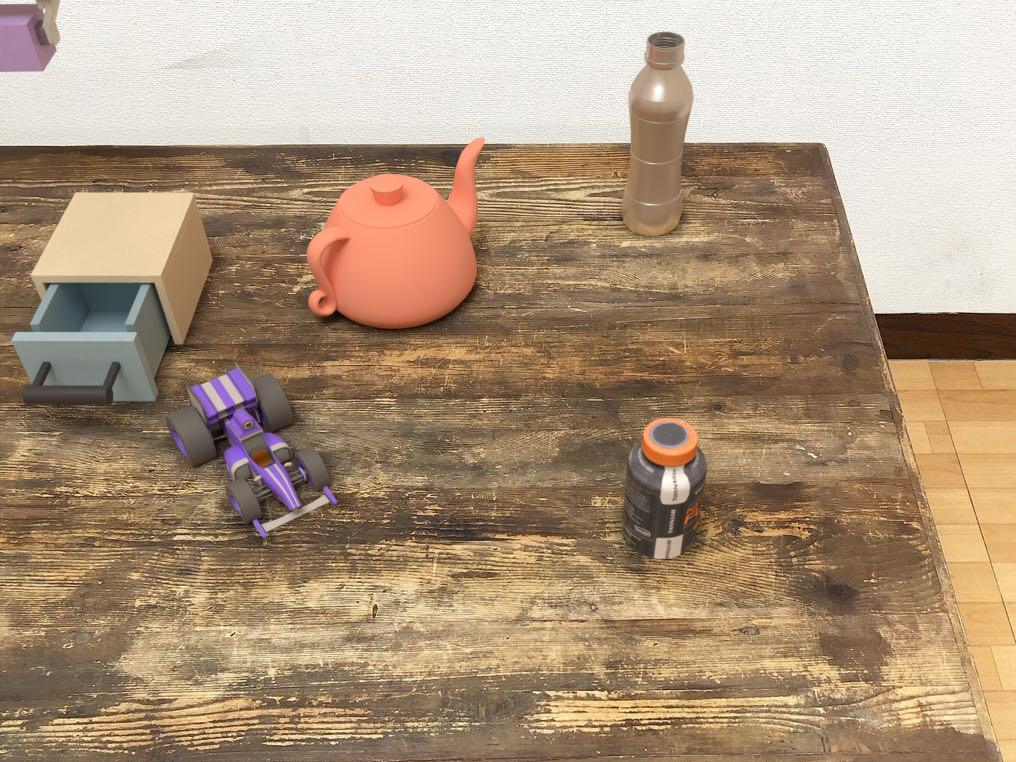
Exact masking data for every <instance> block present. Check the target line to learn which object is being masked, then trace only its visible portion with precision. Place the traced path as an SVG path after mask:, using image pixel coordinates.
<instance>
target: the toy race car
mask: <svg viewBox="0 0 1016 762" xmlns="http://www.w3.org/2000/svg"><path fill="white" fill-rule="evenodd" d="M234 365H235V368H234V369H232V370H229V371H227V372H226V373H225V374H223V375H220V376H218V377H216V378H213V379H211V380H209V381H205V382H204V383H201V384H199V383H198V384H194V385H193V386H190V385H189V384H188V383H187V381H186V380H184V381H183V383H182V384H183V385H184V389H185V391H186V395H187V397H188V401H189V403H190V404H189V405H187V406H185V407H182V408H180V409H177V410H176V411H173V412H170V413H168V414H166V415H165V422H166V426H167V429H168V432H169V434H170V436H171V439H172V441H173V443H174V445H175V447H176V448H177V449H178V450H179V452H181V453H182V454H183V456H184V457H185V460H186V462H187V464H188V465H189V466H190V467H191V468H195V467H197V466H199V465H201V464H204V463H206V462H208V461H211V460H213V459H215V458H217V456H218V453H217V448H216V444H215V441H217V440H220V439H221V440H222V439H224V438H225V439H227V441H228V442H229V444H230V447H228V448H227V449H226V450H225V452H224V453H223V454H224V457H223V458H224V461H225V465H226V468H227V471H228V474H229V476H230V478H231V480H232V481H230V482H227V483H225V485H224V487H225V488H224V489H225V493H226V496H227V499H228V501H229V503H230V505H231V507H233V509H234V510H235V511H236V512H239V516H240V517H241V520H242V522H243V524H244V525H246V526H247V525H250V524H252V525H253V526H254V528H255V529H256V531H258V533H259V535H260V536H261V537H262V538H263V539H266V538H268V534H267V533H268V532H269V531H272V530H274V529H276V528H278V527H280V526H283V525H285V524H286V523H289V522H291V521H293V520H295V519H297V518H299V517H301V516H303V515H305V514H307V513H310V512H311V511H314V510H316V509H318V508H320V507H322V506H324V505H326V504H329V503H332V504H333V505H337V504H339V503H338V500H337V499H336V497H335V496H334V494H333V493H332V492H331V490H330V489H329V487H331V477H330V474H329V471H328V468H327V466H326V464H325V462H324V460H323V458H322V457H321V455H320V453H319V452H318V451H317V450H316V449H315V448H314V447H313V446H307V447H304V448H302V449H301V450H298V451H296V452H295V453H294V454H293V455H292V450H291V447H290V446H289V444H288V443H287V441H285V440H284V439H283V437H281V436H279V435H277V434H275V433H274V432H277V431H279V430H282V429H284V428H286V427H288V426H290V425H292V424H293V423H294V415H293V410H292V407H291V404H290V401H289V399H288V397H287V395H286V392H285V391H284V388H283V387H282V385H281V383H280V382H279V381H278V380H277V378H276V377H275V376H274V375H273V374H271V373H270V372H267V373H264V374H261V375H259V376H257V377H254V378H251V376H250V375H249V374H248V373H247V371H246V370H245V369H244V368H243V366H242V365H241V364H240V363H239V361H237V360H234ZM260 423H261V424H262V426H263V428H264V429H265V431H266V432H264V430H263V428H262V426H261V425H260ZM217 431H222V432H223V435H220V436H216V437H213V434H212V433H215V432H217ZM293 459H294V464H295V467H296V471H293V472H290V473H288V471H287V469H288V468H289V467H291V466H293V463H292V462H288V461H292V460H293ZM283 463H284V464H283ZM249 478H250V479H252V478H253V482H254V483H257V484H258V486H259V487H258V488H256V489H255V490H253V489H252V487H251V485H250V484H249V483H248V481H247V479H249ZM293 481H295V482H293ZM302 481H304V482H306V481H307V482H308V486H309V487H310V489H311V491H312V492H314V493H318V492H319V491H320V492H321V491H322V492H323V495H321V496H320V497H318V498H317V499H315V500H313V501H312V502H309V503H308V504H307V505H304V506H303V505H302V502H301V500H300V498H299V496H298V494H297V491H296V489H295V487H294V485H295V486H296V484H298V483H300V482H302ZM262 489H264V490H262ZM260 490H261V491H260ZM267 493H268V494H267ZM266 494H267V495H266ZM269 497H272V498H274V499H275V500H276V501H277V502H278V503H283V504H284V505H285V507H286V508H287V509H288V510H289V511H290V513H287V514H285V515H283V516H281V517H278V518H276V519H274V520H271V521H268V522H265V523H262V524H261V523H260V522H259V520H261V519H262V518H263V511H262V507H261V504H260V502H259V501H261V500H264V499H266V498H269Z"/></svg>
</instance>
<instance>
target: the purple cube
mask: <svg viewBox="0 0 1016 762" xmlns="http://www.w3.org/2000/svg"><path fill="white" fill-rule="evenodd" d="M44 14H45V11H44V9H39V8H38V6H37V3H1V4H0V73H12V72H14V73H15V72H16V73H17V72H19V73H21V72H22V73H23V72H24V73H25V72H26V73H27V72H44V71H45V70H46V68H47V67H48V65H49V64H50V62H51V60H52V59H53V57H54V56H55V54H56V53H57V51H58V49H57V45H40V43H39V40H38V38H39V37H38V36H37V35H36V32H35V29H34V28H35V26H36V25H37V24H38V22H39V20H44Z"/></svg>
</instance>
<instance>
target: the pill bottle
mask: <svg viewBox="0 0 1016 762" xmlns="http://www.w3.org/2000/svg"><path fill="white" fill-rule="evenodd" d="M698 444H699V435H698V431H696V429H695V427H694V426H693V425H692V424H690V423H689V422H687V421H685V420H684V419H680V418H675V417H661V418H658V419H655V420H653V421H651V422H650V423H648V424H647V426H646V427H645V428H644V430H643V434H642V439H641V440H640V441H638V442H637V443H636V444H634V446H633V447H632V448H631V450H630V452H629V455H628V458H627V464H626V475H625V485H624V496H623V509H622V519H621V520H622V521H621V535H622V537H623V540H624V542H625V543H626V545H627V546H628V547H629V548H630V549H631V550H633V552H636V553H637V554H638V555H641V556H643V557H647V558H649V559H654V560H655V559H656V560H666V559H667V560H668V559H673V558H676V557H678V556H680V555H683V554H685V553H686V552H687V551H689V550H690V549H691V548H692V546H693V545H694V543H695V541H696V538H697V532H698V527H699V520H700V514H701V508H702V503H703V496H704V489H705V484H706V478H707V472H708V464H707V459H706V456H705V454H704V452H703V451H702V449H701V448H700V447H699V446H698Z"/></svg>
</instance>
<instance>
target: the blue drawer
mask: <svg viewBox="0 0 1016 762" xmlns="http://www.w3.org/2000/svg"><path fill="white" fill-rule="evenodd" d="M29 326H30V328H31V330H32V331H15V332H14V334H13V336H12V338H11V340H10V341H11V343H12V345H13V348H14V350H15V352H16V354H17V357H18V358H19V360H20V363H21V365H22V367H23V369H24V371H25V374H26V376H27V378H28V379H29V381H30V384H31V385H30V384H26V385H24V386H23V388H22V392H21V395H22V396H21V397H22V400H23V403H24V404H26V405H28V406H29V405H30V406H31V405H32V406H33V405H39V406H43V405H48V406H51V405H52V406H53V405H55V406H56V405H59V406H60V405H62V406H63V405H66V406H68V405H69V406H71V405H75V406H76V405H77V406H78V405H79V406H93V405H94V406H96V405H97V406H100V405H101V406H110V405H112V404H113V402H156V401H157V398H158V396H159V390H158V387H157V384H156V381H155V378H156V376H157V373H158V370H159V367H160V365H161V363H162V359H163V356H164V353H165V352H166V349H167V346H168V343H169V341H170V338H171V336H172V334H171V331H170V328H169V325H168V322H167V319H166V316H165V313H164V310H163V307H162V304H161V301H160V298H159V295H158V292H157V289H156V286H155V283H51V284H50V286H49V288H48V290H47V292H46V294H45V296H44V298H43V299H42V300H41V301H40V303H39V305H38V307H37V309H36V311H35V313H34V315H33V316H32V319H31V321H30V322H29Z"/></svg>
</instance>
